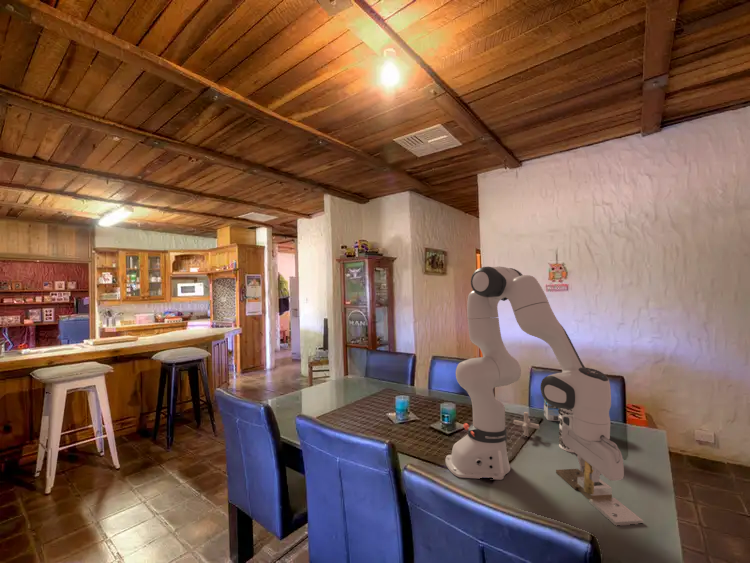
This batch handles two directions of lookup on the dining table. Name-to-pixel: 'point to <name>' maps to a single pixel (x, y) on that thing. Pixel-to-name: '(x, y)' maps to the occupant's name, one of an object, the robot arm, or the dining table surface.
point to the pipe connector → (526, 424)
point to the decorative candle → (561, 412)
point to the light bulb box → (551, 412)
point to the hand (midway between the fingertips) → (589, 476)
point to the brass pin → (588, 479)
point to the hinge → (601, 498)
